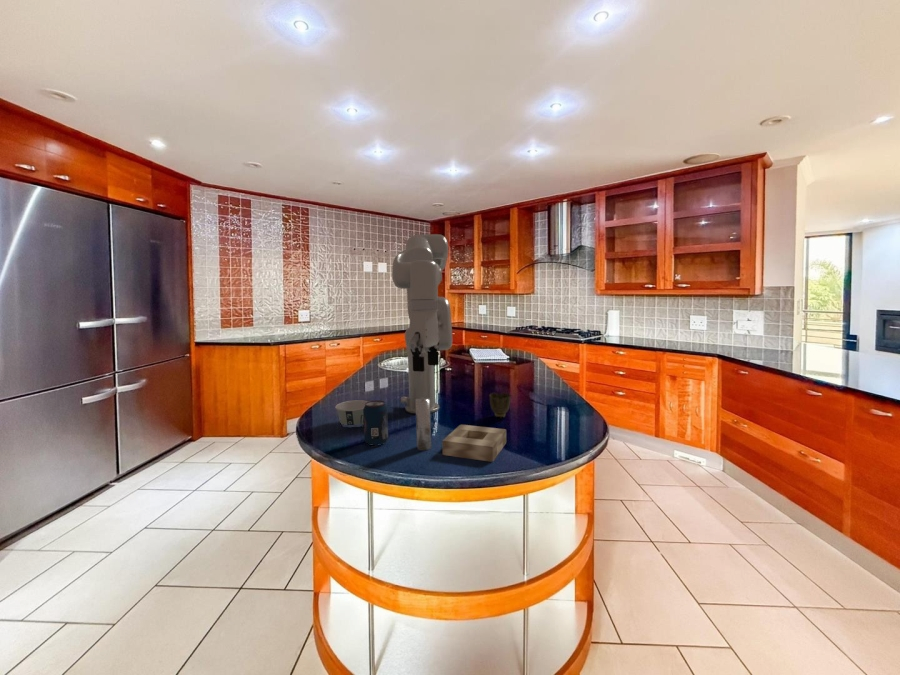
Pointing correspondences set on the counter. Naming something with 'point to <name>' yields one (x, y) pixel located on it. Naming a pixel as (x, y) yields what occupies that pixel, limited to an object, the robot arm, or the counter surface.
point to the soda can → (375, 422)
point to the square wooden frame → (474, 442)
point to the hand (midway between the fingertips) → (426, 368)
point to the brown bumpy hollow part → (499, 403)
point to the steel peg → (423, 423)
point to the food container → (351, 412)
